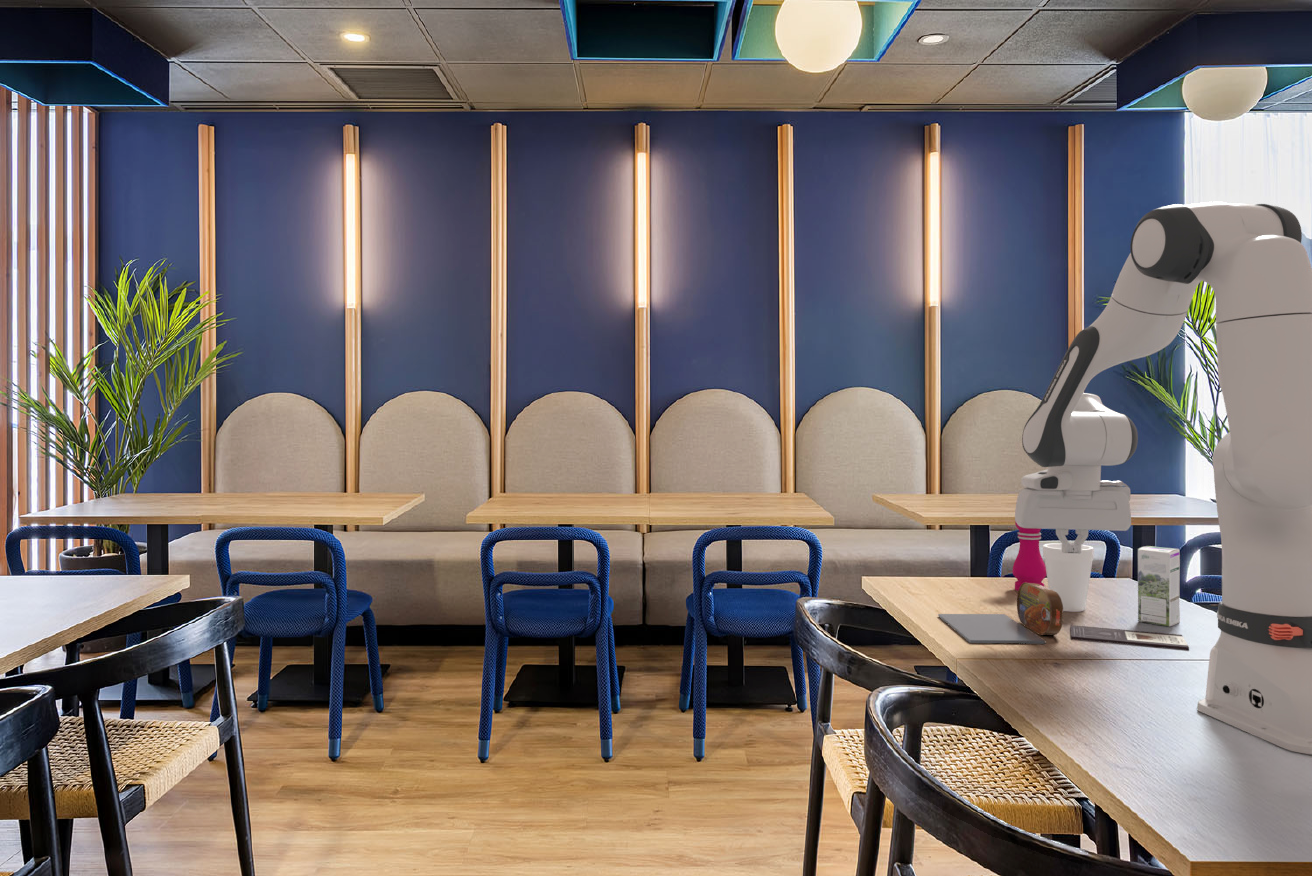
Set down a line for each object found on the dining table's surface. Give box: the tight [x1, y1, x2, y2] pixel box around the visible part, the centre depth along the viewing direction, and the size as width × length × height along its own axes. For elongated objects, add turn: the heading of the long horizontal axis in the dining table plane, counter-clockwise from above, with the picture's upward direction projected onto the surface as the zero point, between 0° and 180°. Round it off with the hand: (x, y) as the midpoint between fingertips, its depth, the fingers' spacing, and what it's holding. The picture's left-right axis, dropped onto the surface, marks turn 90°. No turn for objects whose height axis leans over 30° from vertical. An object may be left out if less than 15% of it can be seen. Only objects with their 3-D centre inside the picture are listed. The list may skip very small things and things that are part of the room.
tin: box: [1016, 582, 1064, 636], centre depth 155 cm, size 15×3×8 cm, turn 178°
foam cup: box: [1042, 542, 1095, 613], centre depth 172 cm, size 10×9×13 cm
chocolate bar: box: [1070, 624, 1190, 651], centre depth 148 cm, size 9×1×18 cm
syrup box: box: [1137, 545, 1181, 627], centre depth 160 cm, size 6×6×14 cm
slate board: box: [937, 613, 1046, 645], centre depth 156 cm, size 20×13×1 cm, turn 177°
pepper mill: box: [1011, 520, 1047, 592], centre depth 190 cm, size 7×7×20 cm
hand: (1071, 553), depth 155 cm, fingers closed
